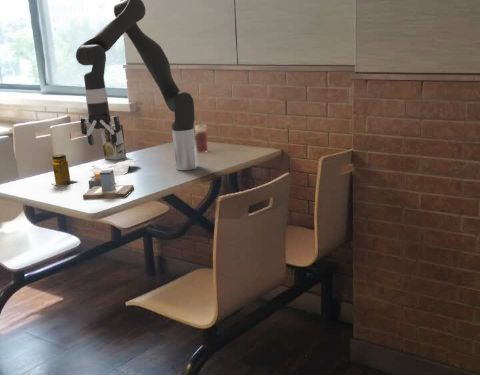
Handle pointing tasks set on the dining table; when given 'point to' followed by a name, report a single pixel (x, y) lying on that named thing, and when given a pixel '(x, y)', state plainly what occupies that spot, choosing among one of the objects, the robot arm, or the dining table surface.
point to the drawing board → (108, 192)
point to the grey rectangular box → (107, 180)
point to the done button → (97, 176)
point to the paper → (116, 167)
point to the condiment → (61, 171)
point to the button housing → (94, 182)
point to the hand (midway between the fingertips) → (103, 144)
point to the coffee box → (111, 149)
